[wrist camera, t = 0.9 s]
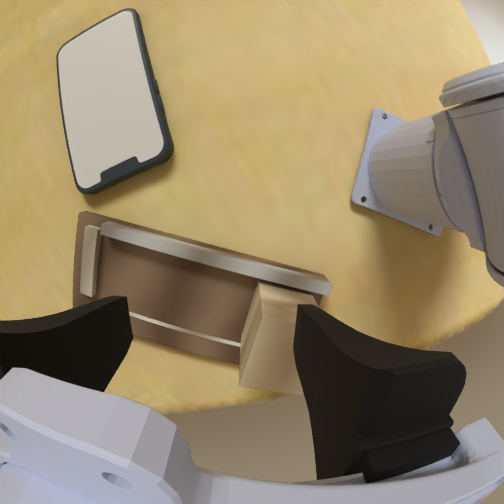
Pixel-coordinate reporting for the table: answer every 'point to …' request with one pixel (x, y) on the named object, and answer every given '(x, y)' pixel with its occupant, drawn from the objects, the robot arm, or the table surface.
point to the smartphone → (111, 104)
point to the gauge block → (272, 339)
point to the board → (177, 284)
